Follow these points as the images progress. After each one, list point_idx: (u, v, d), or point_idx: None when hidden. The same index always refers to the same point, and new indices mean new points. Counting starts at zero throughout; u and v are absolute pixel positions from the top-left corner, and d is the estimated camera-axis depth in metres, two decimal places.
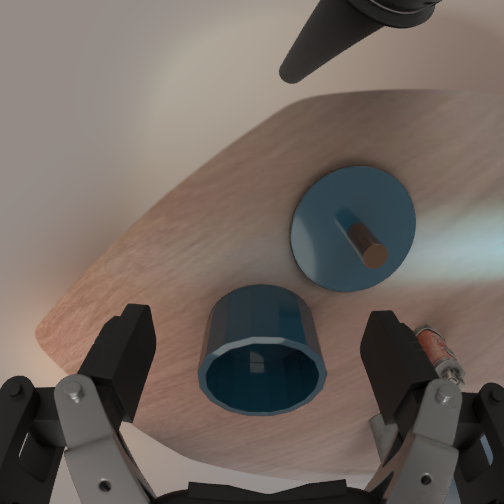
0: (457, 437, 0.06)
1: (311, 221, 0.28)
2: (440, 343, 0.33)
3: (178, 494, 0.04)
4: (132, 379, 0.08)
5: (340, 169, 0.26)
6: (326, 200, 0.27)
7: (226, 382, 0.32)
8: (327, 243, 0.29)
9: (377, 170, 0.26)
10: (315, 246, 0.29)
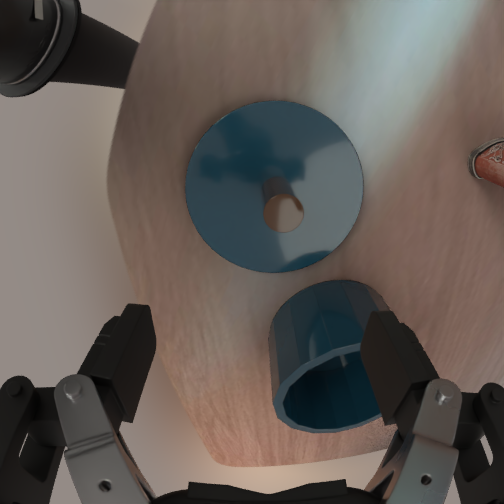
0: (457, 437, 0.06)
1: (229, 237, 0.23)
2: (503, 155, 0.17)
3: (178, 494, 0.04)
4: (132, 379, 0.08)
5: (186, 178, 0.21)
6: (213, 210, 0.22)
7: (343, 401, 0.27)
8: (267, 232, 0.23)
9: (207, 134, 0.20)
10: (262, 246, 0.24)
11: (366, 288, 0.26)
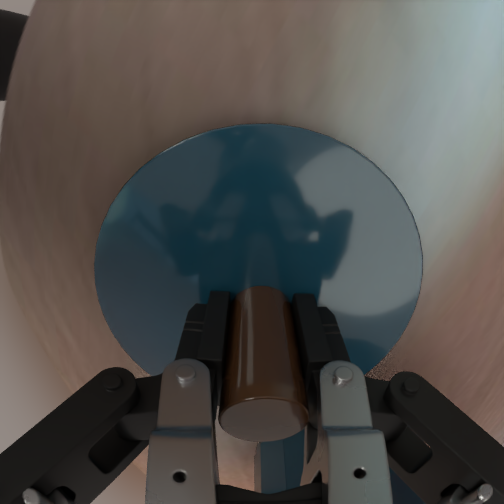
0: None
1: None
2: None
3: None
4: None
5: (96, 282, 0.11)
6: (150, 335, 0.12)
7: None
8: None
9: (115, 203, 0.09)
10: None
11: None
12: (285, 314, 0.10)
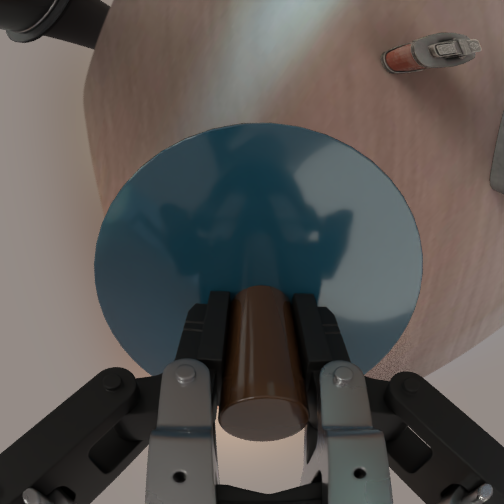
0: None
1: None
2: (407, 44, 0.20)
3: None
4: None
5: (96, 282, 0.11)
6: (150, 334, 0.12)
7: None
8: None
9: (115, 203, 0.09)
10: None
11: None
12: (285, 314, 0.10)
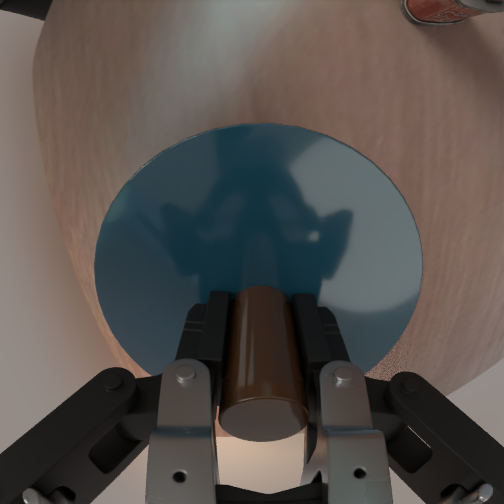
0: None
1: None
2: None
3: None
4: None
5: (96, 282, 0.11)
6: (150, 335, 0.12)
7: None
8: None
9: (115, 203, 0.09)
10: None
11: None
12: (285, 314, 0.10)
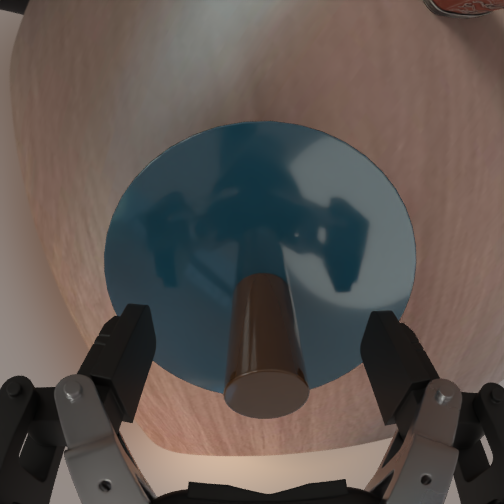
0: (457, 437, 0.06)
1: (187, 357, 0.14)
2: None
3: (178, 494, 0.04)
4: (132, 379, 0.08)
5: (105, 271, 0.12)
6: (156, 322, 0.13)
7: None
8: None
9: (126, 195, 0.10)
10: None
11: None
12: (285, 298, 0.10)
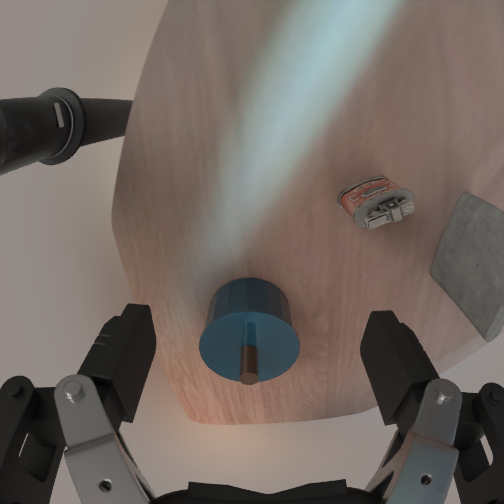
0: (457, 437, 0.06)
1: (224, 368, 0.40)
2: (357, 195, 0.35)
3: (178, 494, 0.04)
4: (132, 379, 0.08)
5: (199, 344, 0.38)
6: (215, 358, 0.39)
7: None
8: None
9: (209, 326, 0.37)
10: None
11: (265, 283, 0.43)
12: (255, 353, 0.37)
